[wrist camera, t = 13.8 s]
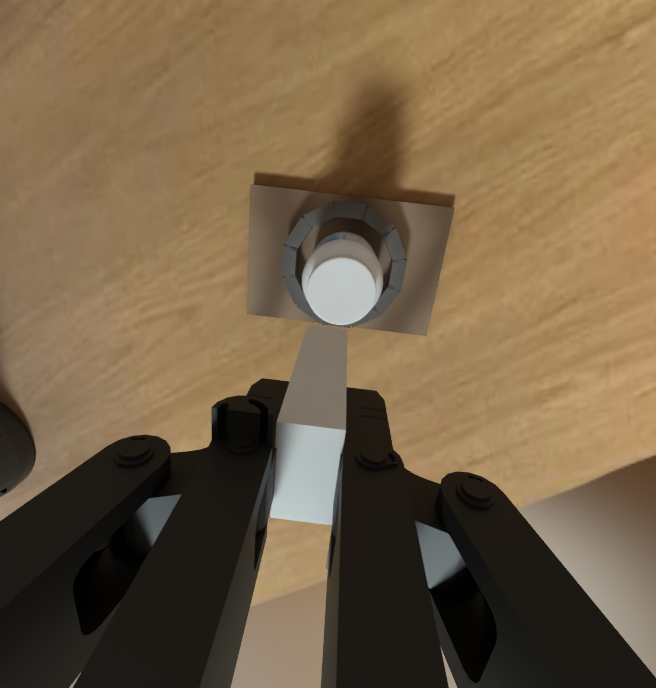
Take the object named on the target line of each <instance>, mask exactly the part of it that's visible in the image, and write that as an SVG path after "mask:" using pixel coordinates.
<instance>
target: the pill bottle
mask: <svg viewBox="0 0 656 688" xmlns="http://www.w3.org/2000/svg"><path fill="white" fill-rule="evenodd" d="M382 287H383V273H382V269H381V266H380V263H379V261H378V259H377V257H376V255H375V253H374V251H373V249H372V247H371V245H370V244H369V243H368V242H367V241H366V240H365V239H364V238H363V237H361V236H360V235H358V234H355V233H352V232H346V231H341V232H336V233H333V234H330V235H328V236H327V237H325V238H324V239H323V240H321V241H320V243H319V244H318V245H317V246H316V248H315V249H314V251H313V252H312V254H311V255H310V257H309V258H308V260H307V262H306V264H305V267H304V270H303V274H302V288H303V292H304V295H305V297H306V300H307V301H308V303H309V305H310V307H311V308H312V310H313V311H314V313H315V314H316V315H317V316H318V317H319V318H321V319H322V320H324V321H326V322H328V323H331V324H336V325H347V324H351V323H354V322H356V321H359V320H360V319H362V318H363V317H364V316H365V315H366V314H367V313H368V312H369V311H370V310H371V309H372V308H373V307H374V305H375V304H376V303H377V301H378V299H379V297H380V295H381V292H382Z"/></svg>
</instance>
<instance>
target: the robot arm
mask: <svg viewBox="0 0 656 688" xmlns="http://www.w3.org/2000/svg"><path fill="white" fill-rule="evenodd" d="M387 419H388V418H387V412H386V406H385V401H384V399H383V398H382V397H381V396H380V395H379V393H378V392H377V391H373V390H365V389H356V388H348V387H347V330H345V329H336V328H328V327H320V326H311V325H308V326H307V329H306V333H305V336H304V339H303V342H302V345H301V348H300V351H299V354H298V357H297V360H296V363H295V367H294V370H293V373H292V376H291V379H290V382H288V381H280V380H272V379H263V378H262V379H261V380H259V381H258V382H256V383H255V384H253V385H252V386H251V388H250V390H249V391H248V393H247V396H234V397H228V398H225V399H223V400H221V401H218V402H217V403H216V404H215V405H214V406H213V407H212V441H211V443H210V445H209V446H208V447H207V448H204V449H201V450H195V451H187V452H177V453H171V451H170V446H169V445H168V443H167V441H165V440H163V439H161V438H160V437H157V436H151V435H138V436H131V437H127V438H124V439H120V440H118V441H116V442H114V443H112V444H111V445H109V446H107V447H106V448H104V449H103V450H101V451H100V452H98V453H97V454H96V455H94V456H93V457H91V458H90V459H88V460H87V461H86V462H84V463H83V464H81V465H80V466H78V467H77V468H76V469H74V470H73V471H71V472H70V473H68V474H67V475H66V476H64V477H63V478H61V479H60V480H58V481H57V482H56V483H54V484H53V485H51V486H50V487H48V488H47V489H46V490H44V491H43V492H41V493H40V494H38V495H37V496H36V497H34V498H33V499H31V500H30V501H28V502H27V503H25V504H24V505H23V506H21V507H20V508H18V509H17V510H15V511H14V512H13V513H11V514H10V515H8V516H7V517H5V518H4V519H3V520H1V521H0V688H69V687H70V685H71V684H72V683H73V682H74V680H75V679H76V678H77V677H78V675H79V674H80V673H81V674H80V676H79V678H78V679H77V681H76V683H75V685H74V687H73V688H230V687H231V683H232V679H233V675H234V671H235V666H236V662H237V658H238V654H239V649H240V645H241V641H242V637H243V633H244V629H245V625H246V621H247V616H248V612H249V608H250V604H251V600H252V596H253V591H254V587H255V583H256V579H257V575H258V571H259V566H260V562H261V558H262V554H263V550H264V546H265V541H266V537H267V522H268V517H269V513H270V509H271V514H270V518H278V519H286V520H294V521H302V522H310V523H318V524H326V525H332V531H331V537H330V544H329V551H328V557H327V564H326V569H328V577H327V594H326V610H325V611H326V612H325V627H324V628H325V629H324V644H323V662H322V678H321V688H449V687H448V682H447V677H446V672H445V667H444V662H443V657H442V652H441V648H442V651H443V653H444V656H445V658H446V661H447V663H448V666H449V668H450V670H451V673H452V675H453V678H454V680H455V683H456V685H457V688H656V678H655V676H654V675H653V674H652V673H651V672H650V670H649V669H648V668H647V667H646V665H645V664H644V663H643V662H642V660H641V659H640V658H639V657H638V656H637V654H636V653H635V652H634V651H633V650H632V648H631V647H630V646H629V645H628V643H627V642H626V641H625V640H624V639H623V637H622V636H621V635H620V634H619V632H618V631H617V630H616V629H615V628H614V627H613V625H612V624H611V623H610V622H609V620H608V619H607V618H606V617H605V616H604V614H603V613H602V612H601V611H600V610H599V608H598V607H597V606H596V605H595V603H594V602H593V601H592V600H591V598H590V597H589V596H588V595H587V594H586V592H585V591H584V590H583V589H582V587H581V586H580V585H579V584H578V583H577V581H576V580H575V579H574V578H573V577H572V575H571V574H570V573H569V572H568V571H567V569H566V568H565V567H564V566H563V564H562V563H561V562H560V561H559V560H558V559H557V557H556V556H555V555H554V553H553V552H552V551H551V550H550V549H549V547H548V546H547V545H546V544H545V542H544V541H543V540H542V539H541V538H540V536H539V535H538V534H537V533H536V532H535V530H534V529H533V528H532V527H531V525H530V524H529V523H528V522H527V521H526V519H525V518H524V517H523V516H522V515H521V514H520V512H519V511H518V510H517V508H516V507H515V506H514V505H513V504H512V502H511V501H510V500H509V499H508V497H507V496H506V495H505V494H504V493H503V492H502V491H501V490H500V489H499V488H498V487H497V486H496V485H495V484H493V483H492V482H490V481H488V480H487V479H485V478H483V477H481V476H478V475H475V474H472V473H468V472H453V473H449V474H447V475H446V476H445V477H444V478H442V481H441V484H438V483H436V482H433V481H430V480H427V479H424V478H422V477H419V476H417V475H415V474H413V473H411V472H410V471H408V470H407V469H405V468H404V464H403V462H402V459H401V457H400V455H398V454H397V453H396V452H395V451H394V450H393V446H392V440H391V435H390V429H389V423H388V420H387ZM34 460H35V453H34V447H33V443H32V440H31V438H30V436H29V434H28V432H27V430H26V429H25V427H24V426H23V424H22V423H21V422H20V421H19V419H18V418H17V417H16V416H15V415H14V414H13V413H12V412H11V411H10V410H9V409H7V408H6V407H5V406H4V405H2V404H1V403H0V497H1V496H3V495H5V494H7V493H8V492H10V491H11V490H12V489H14V488H15V487H16V486H17V485H18V484H20V483H21V482H22V481H23V480H24V479H25V478H26V477H27V476H28V475H29V474H30V472H31V471H32V468H33V465H34ZM440 646H441V647H440ZM82 670H83V671H82Z"/></svg>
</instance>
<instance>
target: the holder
mask: <svg viewBox="0 0 656 688" xmlns="http://www.w3.org/2000/svg"><path fill="white" fill-rule="evenodd" d="M453 212H454V208H451V207H443V206H434V205H425V204H417V203H408V202H399V201H391V200H382V199H374V198H365V197H356V196H348V195H339V194H330V193H322V192H313V191H304V190H296V189H287V188H278V187H270V186H261V185H252V184H251V189H250V225H249V260H248V296H247V314H251V315H260V316H268V317H276V318H284V319H292V320H300V321H309V322H317V323H322V324H323V325H331V326H339V327H348V328H350V327H358V328H366V329H374V330H382V331H391V332H399V333H407V334H415V335H423V336H426V335H427V331H428V326H429V322H430V317H431V312H432V308H433V303H434V299H435V294H436V290H437V285H438V281H439V276H440V271H441V267H442V262H443V258H444V253H445V249H446V244H447V240H448V235H449V230H450V226H451V221H452V217H453ZM341 231H346V232H352V233H355V234H358V235H360V236H361V237H363V238H364V239H365V240H366V241H367V242H368V243H369V244H370V245H371V247H372V249H373V251H374V253H375V255H376V257H377V259H378V261H379V263H380V266H381V269H382V273H383V287H382V292H381V295H380V297H379V299H378V301H377V303H376V304H375V305H374V307H373V308H372V309H371V310H370V311H369V312H368V313H367V314H366V315H365V316H364V317H363V318H362V319H360V320H359V321H356V322H354V323H351V324H347V325H336V324H331V323H328V322H326V321H324V320H322V319H321V318H319V317H318V316H317V315H316V314H315V313H314V311H313V310H312V308H311V307H310V305H309V303H308V301H307V300H306V297H305V295H304V292H303V288H302V274H303V270H304V267H305V264H306V262H307V260H308V258H309V257H310V255H311V254H312V252H313V251H314V249H315V248H316V246H317V245H318V244H319V243H320V241H321V240H323V239H324V238H325V237H327V236H328V235H330V234H333V233H336V232H341Z"/></svg>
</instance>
